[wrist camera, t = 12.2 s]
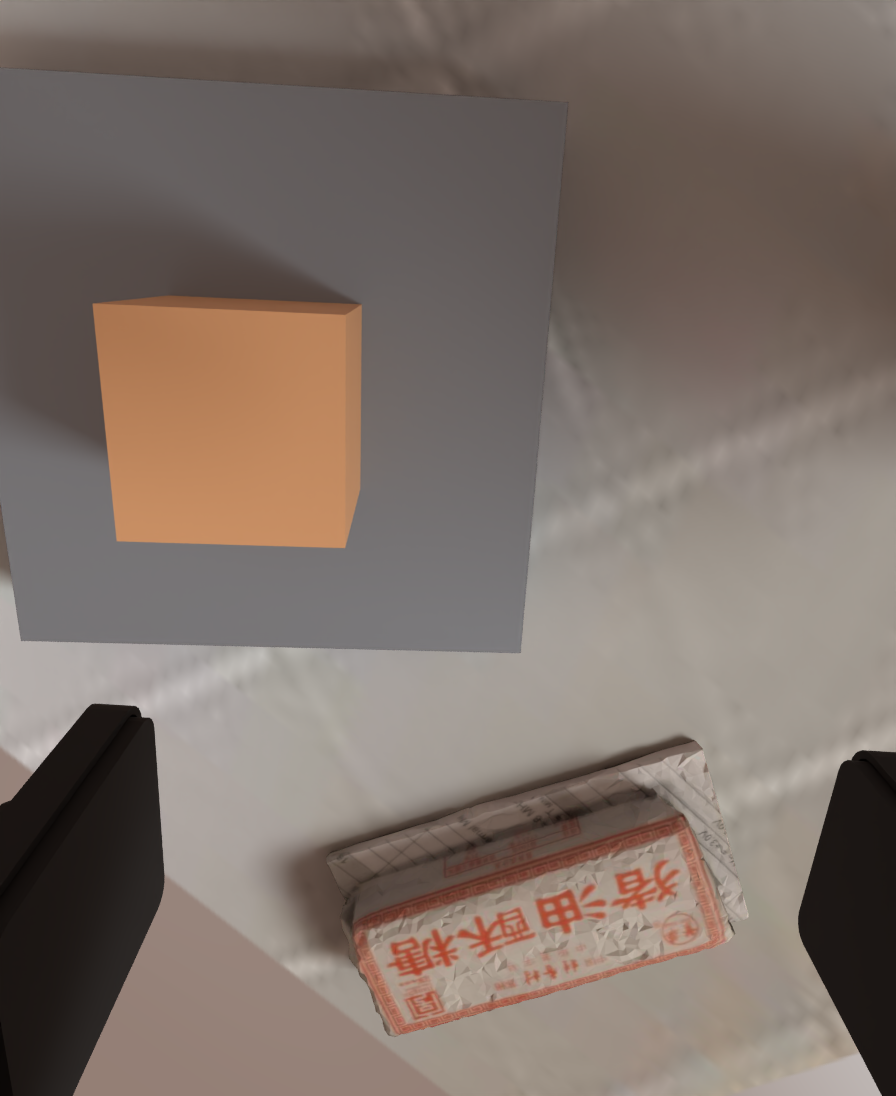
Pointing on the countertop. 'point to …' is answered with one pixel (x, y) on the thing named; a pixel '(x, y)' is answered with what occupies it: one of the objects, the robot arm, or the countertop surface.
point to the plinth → (285, 275)
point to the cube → (231, 419)
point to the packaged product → (540, 891)
